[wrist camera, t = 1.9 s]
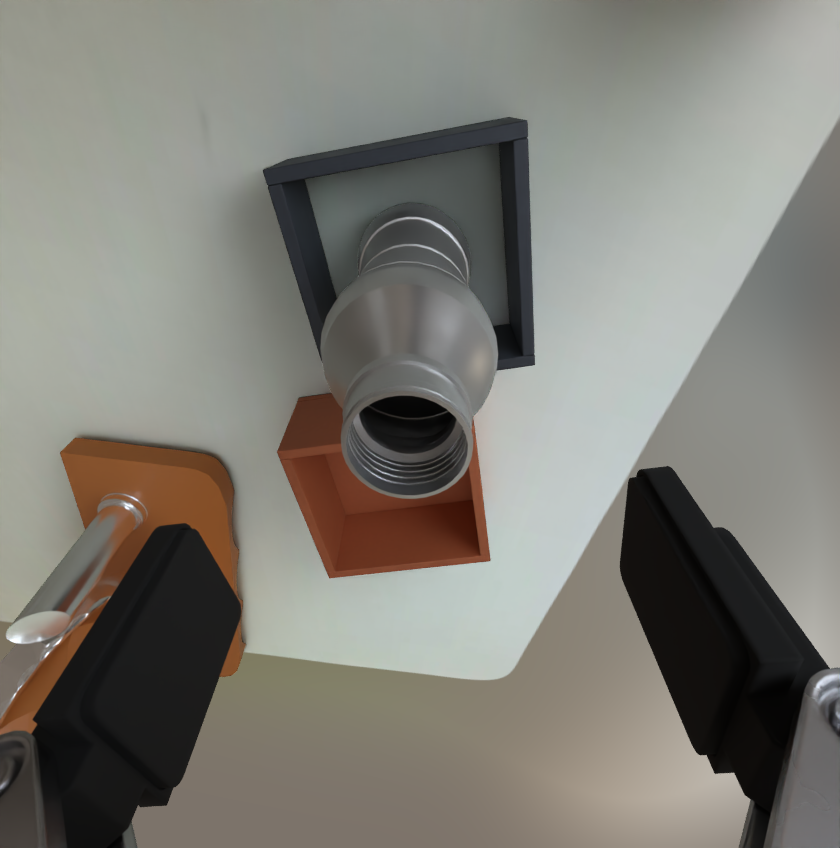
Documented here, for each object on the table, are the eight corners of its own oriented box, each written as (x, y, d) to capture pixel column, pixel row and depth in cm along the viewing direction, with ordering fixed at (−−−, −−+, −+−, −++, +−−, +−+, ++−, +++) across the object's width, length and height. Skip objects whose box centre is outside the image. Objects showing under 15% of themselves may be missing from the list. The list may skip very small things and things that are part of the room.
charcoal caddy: (286, 159, 27) (262, 170, 22) (510, 116, 25) (527, 119, 21) (342, 358, 33) (331, 394, 29) (520, 331, 32) (535, 365, 28)
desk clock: (137, 648, 54) (10, 895, 37) (72, 432, 37) (-213, 705, 20) (248, 657, 55) (173, 901, 38) (233, 452, 38) (89, 726, 21)
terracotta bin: (298, 397, 35) (276, 451, 30) (465, 373, 34) (474, 425, 29) (340, 516, 42) (329, 578, 37) (481, 499, 41) (490, 561, 35)
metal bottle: (396, 322, 32) (369, 561, 15) (340, 228, 29) (230, 402, 12) (484, 278, 30) (562, 491, 14) (437, 172, 27) (463, 284, 10)
